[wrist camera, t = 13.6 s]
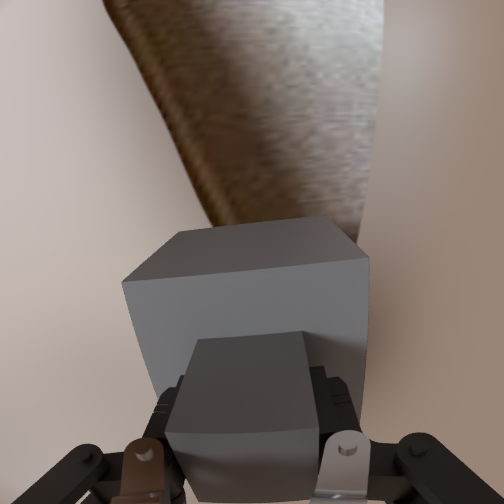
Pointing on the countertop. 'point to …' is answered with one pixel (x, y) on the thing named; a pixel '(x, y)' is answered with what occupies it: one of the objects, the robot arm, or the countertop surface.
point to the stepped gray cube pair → (251, 348)
